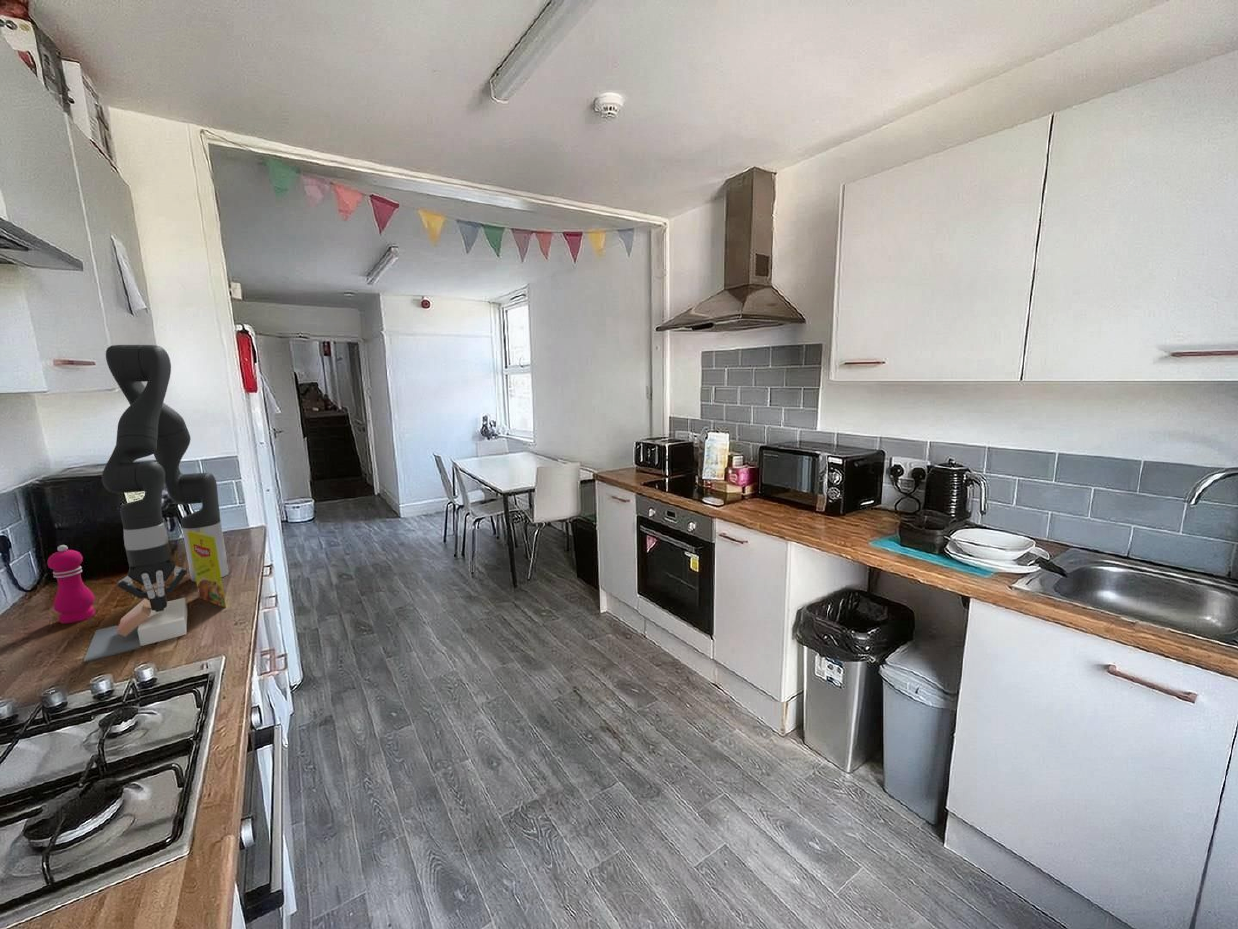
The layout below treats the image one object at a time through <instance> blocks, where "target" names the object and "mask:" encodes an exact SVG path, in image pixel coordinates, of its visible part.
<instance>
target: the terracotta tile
mask: <svg viewBox="0 0 1238 929" xmlns="http://www.w3.org/2000/svg"><path fill="white" fill-rule="evenodd" d="M150 612H151V605H150V600H149V599H148V598H143V599H142V600H141V601H140V602H139V603H137V605H135V606H134V607H133V608H132V609H131V610H129V611H128V612H127V613H126V614H125V615H124V616H123V617H122V618H120V621H119V624H118V625H119V627H118V630H117V633H119V634H121V635H123V636H125V637H126V636H127V635H128V634H129V633H130V632H131V631H133V630H134V629H135V628H136V627H137V626H138V625H139V624H141V623H142V622H143V621H144V620H145V619H146V618H147V617H149V616H150Z"/></svg>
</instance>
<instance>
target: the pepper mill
mask: <svg viewBox="0 0 1238 929" xmlns="http://www.w3.org/2000/svg"><path fill="white" fill-rule="evenodd" d="M83 558H84V557H83V555H82V554H81V552H79V551H77V550H73V549H69V548H68V546H67V545H65V544H61V545H59V546H57V552H54V553H52V554H51V555H49V557H48V559H47V561H46V562H47V566H48V568H49V569H50V570H53V571H52V574H53V578H56V581H57V591H56V594H55V597H54V599H53V609H54V611H55V612H58V613H60V614H59V615H58V620H59V623H61V624H71V623H72V624H73V623H78V622H80V621H84V620H87V619H89V618H91V617H93V616H94V615H95V614H96V611H95V610H96V609H95V607H94V606H92V605H93V604H94V603H95V600H96V599H95V598H96V597H95V595H94V593H93V592H92V590H91V589H89V587H87V586H86V585H85V583H84V581H83V579H82V576H81V574H82V573H83V569H82V568H83V567H82V566H81V564H82V562H83V560H84V559H83Z"/></svg>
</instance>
